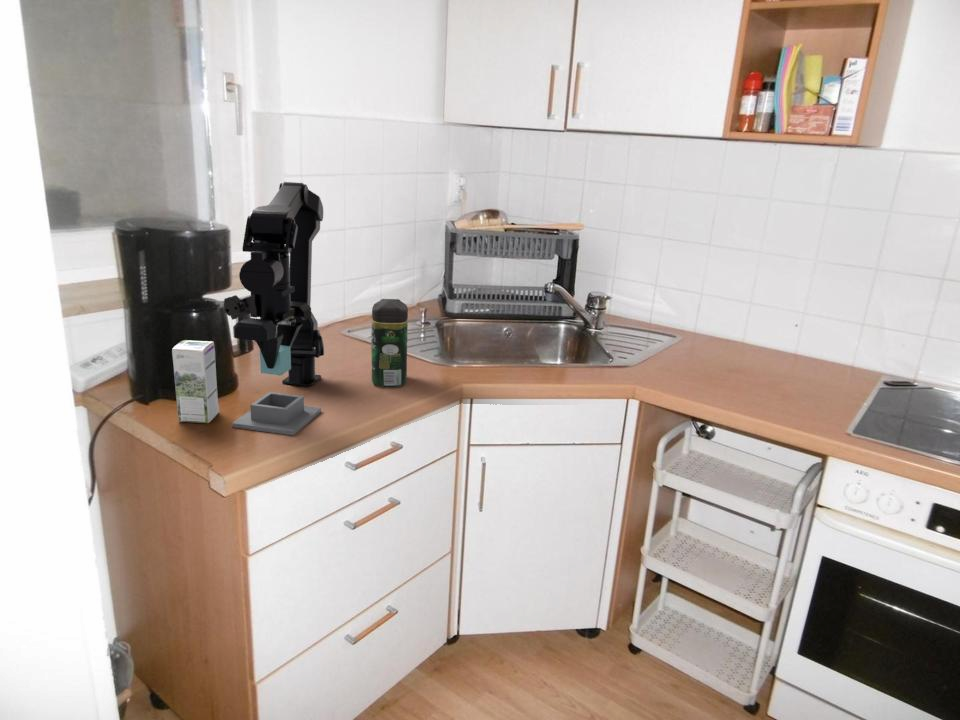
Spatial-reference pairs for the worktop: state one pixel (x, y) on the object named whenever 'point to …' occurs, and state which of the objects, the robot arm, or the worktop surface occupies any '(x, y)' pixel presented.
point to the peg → (278, 362)
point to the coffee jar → (389, 343)
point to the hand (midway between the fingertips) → (276, 364)
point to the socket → (277, 414)
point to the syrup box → (195, 381)
